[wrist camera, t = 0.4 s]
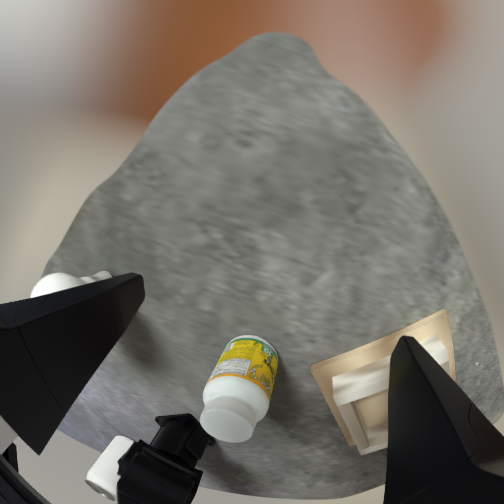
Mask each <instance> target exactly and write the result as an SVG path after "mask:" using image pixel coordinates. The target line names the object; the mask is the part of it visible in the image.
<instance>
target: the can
mask: <svg viewBox="0 0 504 504" xmlns="http://www.w3.org/2000/svg"><path fill="white" fill-rule="evenodd" d="M133 442H135V441H134V440H132V439H130V438H128V437H126V436H122V435H119V436H116V437H115V438H114V439H113V440H112V442H111V443H110V444H109V445H108V447H107V448H106V449H105V451H104V452H103V453H102V454H101V456H100V457H99V458H98V460H97V461H96V462H95V464H94V465H93V466H92V468H91V469H90V470H89V472H88V473H87V479H86V480H85V482H86V483H87V484H88V485H89V486H90V487H91V488H92V489H94V490H95V491H96V492H97V493H99V494H101V495H102V496H104V497H106V498H107V499H110V500H112V501H115V499H116V498H117V495H116V488H117V482H118V480H119V479H120V476H119V475H117V472H118V468H119V465H118V460H119V458H120V457H122V456H123V455H124V454H125V453H126V452H127V450H128V449H129V448H130V447H131V445H132V444H133Z"/></svg>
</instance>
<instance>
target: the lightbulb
mask: <svg viewBox="0 0 504 504" xmlns="http://www.w3.org/2000/svg"><path fill="white" fill-rule="evenodd" d="M108 278H112V275H111V274H110V273H108V272H107V271H100V272H98V273H96V274H95V275H92V276H90V277H80V278H77V277H74V276H72V275H69V274H66V273H52V274H49V275H47V276H45V277H43V278H42V279H41V280H40V281H38V283H37V284H36V285H35V287H34V288H33V290H32V293H31V296H30V298H33V297H37V296H41V295H45V294H50V293H53V292H57V291H61V290H65V289H68V288H72V287H76V286H80V285H84V284H88V283H92V282H96V281H100V280H104V279H108Z"/></svg>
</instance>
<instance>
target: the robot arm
mask: <svg viewBox="0 0 504 504" xmlns="http://www.w3.org/2000/svg"><path fill="white" fill-rule="evenodd" d="M144 298H145V290H144V281H143V277H142V276H141V275H140V274H136V273H128V274H124V275H120V276H116V277H112V278H108V279H104V280H100V281H96V282H92V283H88V284H84V285H80V286H76V287H72V288H68V289H65V290H61V291H57V292H53V293H50V294H45V295H41V296H37V297H33V298H29V299H24V300H19V301H14V302H9V303H4V304H0V504H51V503H50V502H49V501H47V500H46V499H45V498H44V497H43V496H42V495H41V494H39V493H38V492H37V491H36V490H35V489H34V488H33V487H32V486H30V484H29V483H28V482H27V481H25V479H24V478H23V477H22V476H21V475H20V474H19V473H18V462H17V450H16V445H15V444H14V443H13V441H14V440H15V439H16V437H17V436H19V437H20V438H21V439H22V440H23V441H24V442H25V443H26V444H27V445H28V446H29V447H30V448H31V449H32V450H33V451H34V452H36V453H37V454H38V455H40V454H41V453H42V451H43V449H44V448H45V446H46V445H47V443H48V441H49V440H50V438H51V437H52V435H53V434H54V432H55V430H56V429H57V427H58V426H59V424H60V423H61V421H62V420H63V418H64V417H65V415H66V413H67V412H68V410H69V409H70V407H71V406H72V404H73V403H74V401H75V400H76V399H77V397H78V396H79V394H80V393H81V391H82V390H83V388H84V387H85V385H86V384H87V383H88V381H89V380H90V378H91V377H92V376H93V374H94V373H95V371H96V370H97V369H98V367H99V366H100V364H101V363H102V362H103V360H104V359H105V357H106V356H107V355H108V353H109V352H110V351H111V349H112V348H113V347H114V345H115V344H116V343H117V341H118V340H119V339H120V337H121V336H122V334H123V333H124V332H125V330H126V329H127V327H128V325H129V324H130V322H131V320H132V319H133V317H134V316H135V314H136V312H137V311H138V309H139V307H140V306H141V304H142V303H143V301H144ZM155 421H156V422H157V423H158V424H159V425H160V429H159V431H158V432H157V434H156V435H155V437H154V438H153V440H152V442H151V443H150V445H148V444H147V443H145V442H144V441H143V440H141V439H140V440H139V442H133V444H132V445H131V447H130V448H129V449H128V450H127V452H126V453H125V454H124V455H123V456H122V457H120V458H119V460H118V465H119V468H118V472H117V475H119V476H120V479H119V480H118V482H117V488H116V495H117V503H118V504H191V502H192V500H193V499H194V496H195V494H196V492H197V489H198V486H199V483H200V480H201V477H202V474H203V471H201V470H197V469H195V466H196V464H197V461H198V460H200V459H201V457H202V454H203V452H204V450H205V448H206V446H214V444H215V442H214V441H213V440H212V438H211V437H210V436H209V435H208V434H207V433H206V432H205V431H204V429H203V428H202V427H201V426H200V425H199V424H198V422H197V421H196V420H195V419H194V418H193V416H192V415H190V414H178V415H168V416H157V417H156V418H155ZM383 504H504V436H503V435H502V434H501V433H500V432H499V431H498V430H497V429H496V428H495V427H494V426H493V425H492V424H491V422H490V421H489V420H488V419H487V418H486V417H485V416H484V415H483V414H482V412H481V411H480V410H479V409H478V408H477V407H476V405H475V404H474V403H473V402H471V400H470V398H469V397H468V396H467V395H466V394H465V393H464V391H463V390H462V389H461V388H460V387H459V386H458V385H457V383H456V382H455V381H454V380H453V379H452V378H451V377H450V376H449V375H448V373H447V372H446V371H445V370H444V369H443V368H442V367H441V366H440V365H439V364H438V362H437V361H436V360H435V359H434V358H433V357H432V356H431V355H430V354H429V353H428V352H427V351H426V350H425V349H424V348H423V346H422V345H421V344H420V343H419V342H418V341H417V340H416V339H415V338H414V337H412V336H406V335H403V336H401V337H400V339H399V340H398V342H397V344H396V346H395V348H394V350H393V352H392V354H391V358H390V373H389V388H388V450H387V470H386V482H385V493H384V502H383Z"/></svg>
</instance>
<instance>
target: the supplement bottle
mask: <svg viewBox="0 0 504 504" xmlns="http://www.w3.org/2000/svg"><path fill="white" fill-rule="evenodd" d="M277 366H278V355H277V352H276V350H275V349H274V348H273V346H271V345H270V344H269V343H268V342H267V341H266V340H264V339H262V338H260V337H257V336H253V335H244V336H239V337H236V338H234V339H233V340H231V341H230V342H229V343H228V344H227V346H226V348H225V349H224V351H223V353H222V355H221V357H220V359H219V361H218V363H217V365H216V367H215V369H214V370H213V372H212V374H211V376H210V378H209V380H208V382H207V384H206V386H205V388H204V391H203V401H204V404H205V407H204V410H203V412H202V414H201V417H200V423H201V426H202V427H203V429H204V430H205V431H206V432H207V433H208V434H210V435H211V436H213V437H215V438H217V439H219V440H222V441H226V442H231V443H239V442H244V441H246V440H248V439H249V438H250V437H251V436H252V434H253V432H254V429H255V426H256V423H257V422H259V421H260V420H261V419H262V418H263V417H264V416H265V415H266V413H267V411H268V408H269V404H270V399H271V395H272V390H273V385H274V380H275V376H276V371H277Z"/></svg>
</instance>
